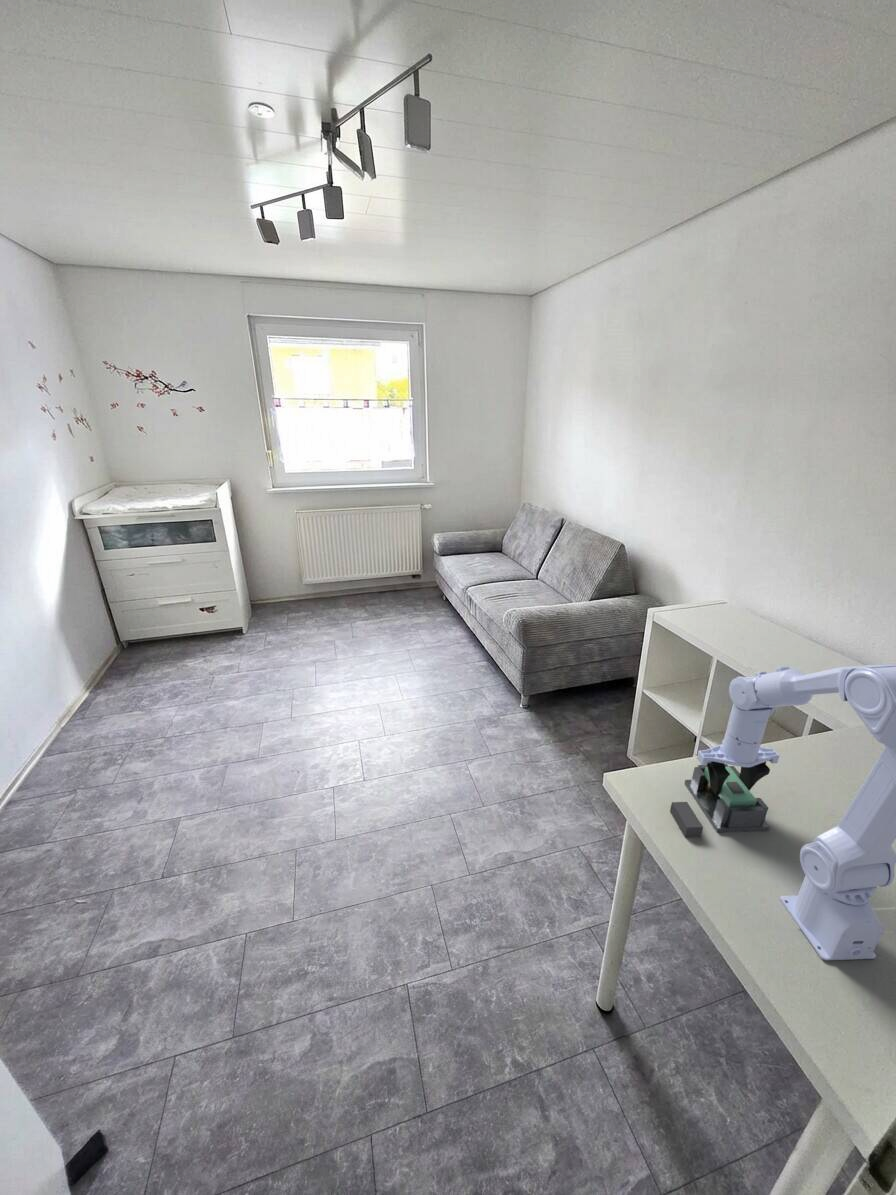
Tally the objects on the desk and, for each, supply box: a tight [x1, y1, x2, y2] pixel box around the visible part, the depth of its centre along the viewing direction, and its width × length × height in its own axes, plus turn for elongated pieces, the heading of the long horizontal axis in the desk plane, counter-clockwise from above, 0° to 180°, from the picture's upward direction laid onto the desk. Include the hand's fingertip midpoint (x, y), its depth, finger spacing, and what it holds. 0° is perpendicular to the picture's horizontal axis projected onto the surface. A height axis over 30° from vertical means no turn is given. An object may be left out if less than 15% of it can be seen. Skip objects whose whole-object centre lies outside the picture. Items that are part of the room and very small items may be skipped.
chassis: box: [684, 764, 771, 833], centre depth 94 cm, size 10×12×5 cm
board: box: [704, 767, 757, 808], centre depth 93 cm, size 5×9×3 cm, turn 1°
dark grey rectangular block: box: [669, 801, 704, 838], centre depth 90 cm, size 6×3×2 cm, turn 2°
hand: (728, 790), depth 93 cm, fingers closed on board, 5 cm apart
